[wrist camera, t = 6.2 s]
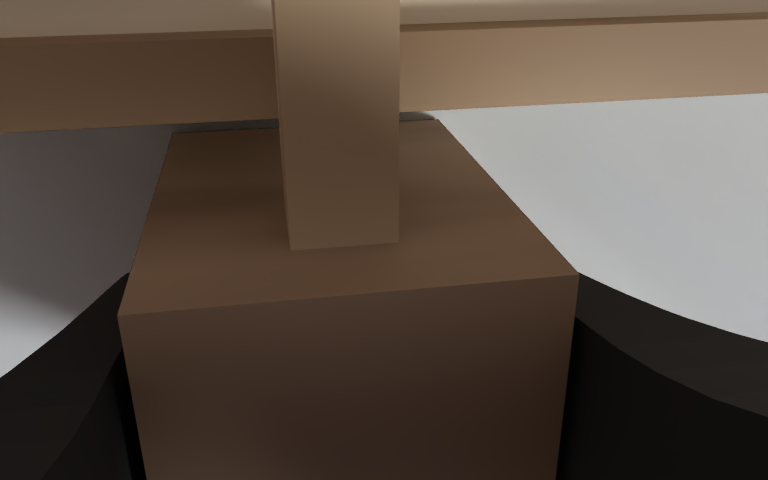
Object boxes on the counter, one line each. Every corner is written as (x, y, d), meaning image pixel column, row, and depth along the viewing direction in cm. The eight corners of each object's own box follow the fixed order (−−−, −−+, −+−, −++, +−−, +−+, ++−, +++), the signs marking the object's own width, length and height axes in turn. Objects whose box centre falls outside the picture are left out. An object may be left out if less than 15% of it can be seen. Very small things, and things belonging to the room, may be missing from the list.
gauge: (432, 339, 15) (542, 590, 9) (201, 362, 14) (177, 648, 9) (445, -196, 11) (647, -293, 5) (129, -201, 10) (2, -317, 5)
